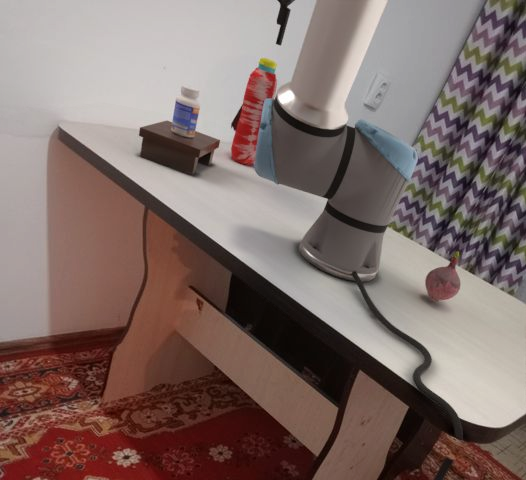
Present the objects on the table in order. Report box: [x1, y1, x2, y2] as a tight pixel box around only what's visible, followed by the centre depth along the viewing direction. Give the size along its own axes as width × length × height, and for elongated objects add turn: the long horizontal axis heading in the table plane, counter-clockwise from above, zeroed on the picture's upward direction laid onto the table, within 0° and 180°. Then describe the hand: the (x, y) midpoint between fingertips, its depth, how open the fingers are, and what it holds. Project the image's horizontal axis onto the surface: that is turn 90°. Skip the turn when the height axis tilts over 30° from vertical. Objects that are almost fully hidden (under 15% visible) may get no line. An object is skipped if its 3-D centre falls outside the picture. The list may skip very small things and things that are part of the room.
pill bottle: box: [171, 84, 201, 138], centre depth 103 cm, size 5×5×10 cm
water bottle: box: [230, 57, 278, 166], centre depth 121 cm, size 12×8×25 cm, turn 39°
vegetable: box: [424, 251, 462, 302], centre depth 82 cm, size 6×6×10 cm
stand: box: [138, 120, 221, 176], centre depth 108 cm, size 16×14×6 cm
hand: (308, 56), depth 98 cm, fingers open, 13 cm apart
